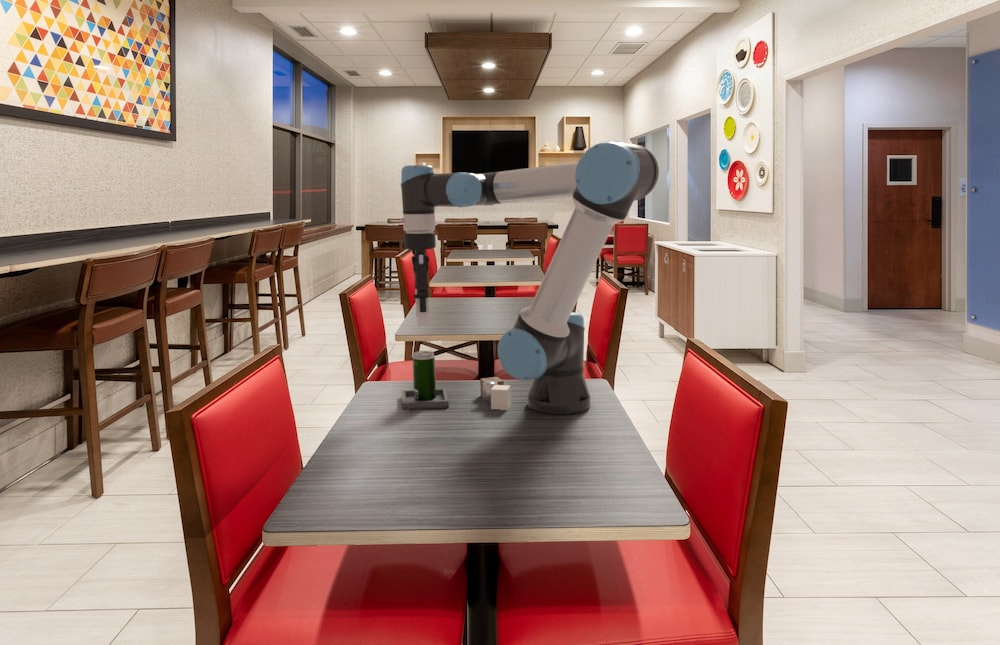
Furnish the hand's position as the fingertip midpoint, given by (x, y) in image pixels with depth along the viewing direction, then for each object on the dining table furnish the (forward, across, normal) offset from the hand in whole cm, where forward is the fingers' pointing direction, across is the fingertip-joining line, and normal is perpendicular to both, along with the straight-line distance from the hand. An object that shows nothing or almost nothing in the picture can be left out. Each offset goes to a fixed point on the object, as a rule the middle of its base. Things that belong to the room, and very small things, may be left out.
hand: (422, 320), depth 171 cm
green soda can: (+20, 0, 0) cm, 20 cm away
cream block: (+21, +7, +18) cm, 28 cm away
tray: (+20, 0, 0) cm, 21 cm away
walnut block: (+21, -2, +17) cm, 27 cm away
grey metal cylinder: (+21, +3, +16) cm, 26 cm away
